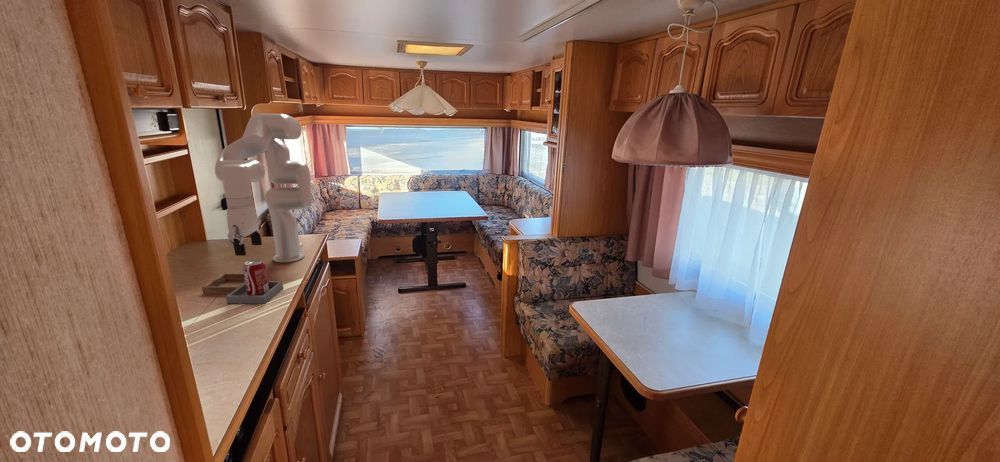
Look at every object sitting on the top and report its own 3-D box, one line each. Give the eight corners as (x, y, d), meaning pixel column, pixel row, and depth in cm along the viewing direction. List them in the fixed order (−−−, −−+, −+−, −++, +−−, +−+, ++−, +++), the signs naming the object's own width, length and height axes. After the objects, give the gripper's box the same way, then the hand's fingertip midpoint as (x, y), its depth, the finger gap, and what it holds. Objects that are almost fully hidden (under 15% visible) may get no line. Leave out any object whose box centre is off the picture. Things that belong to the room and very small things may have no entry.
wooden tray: (225, 279, 156) (224, 273, 156) (258, 279, 157) (257, 273, 156) (203, 293, 144) (201, 287, 144) (239, 294, 145) (237, 287, 144)
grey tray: (248, 288, 149) (247, 281, 148) (283, 288, 149) (282, 281, 148) (227, 304, 137) (226, 296, 136) (265, 304, 137) (263, 296, 136)
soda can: (273, 289, 147) (268, 259, 143) (260, 298, 141) (255, 266, 137) (256, 288, 148) (251, 258, 144) (243, 296, 141) (237, 265, 138)
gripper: (244, 195, 141) (252, 241, 147) (211, 208, 125) (222, 259, 130) (265, 195, 141) (273, 241, 147) (236, 208, 125) (245, 259, 130)
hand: (249, 249), depth 139 cm, fingers open, 9 cm apart
